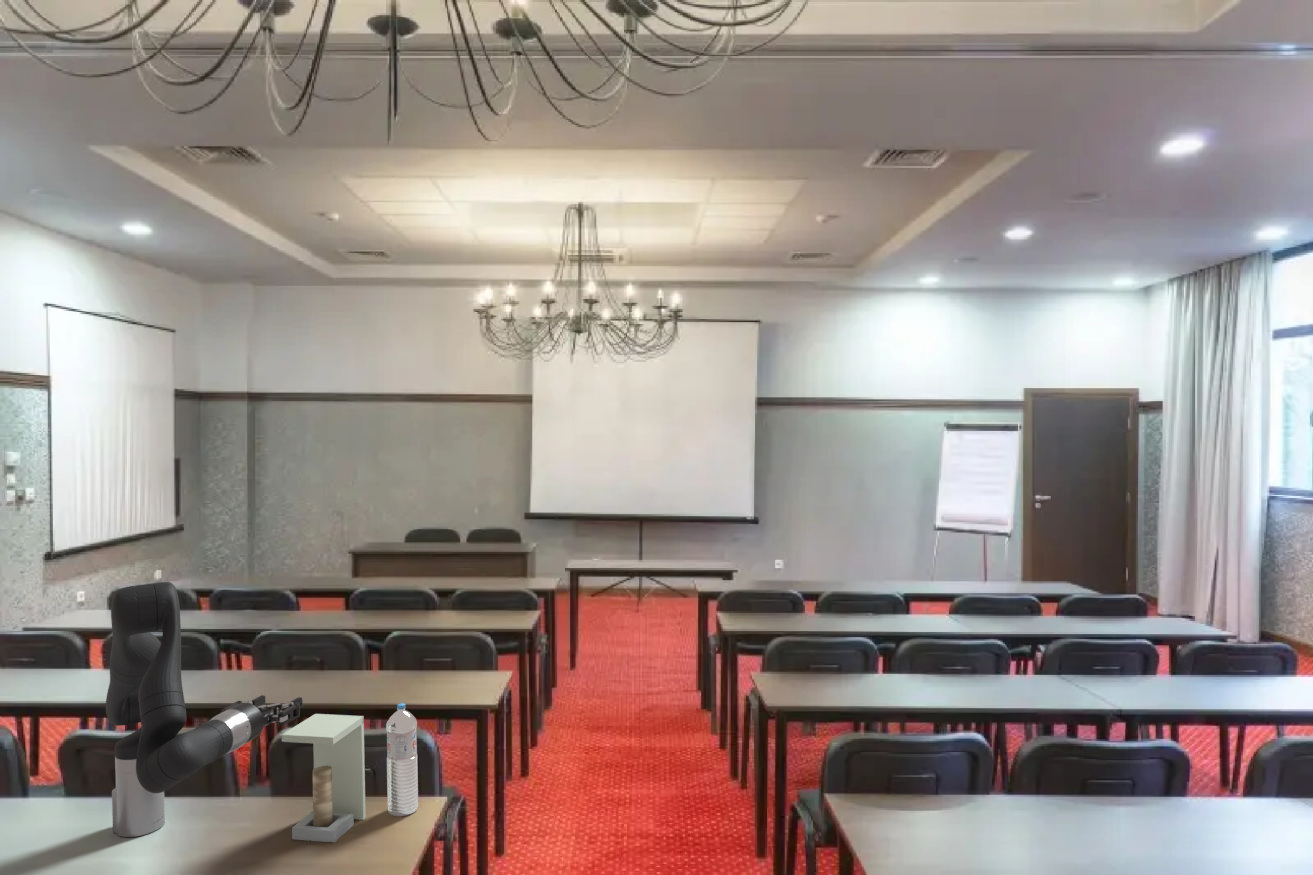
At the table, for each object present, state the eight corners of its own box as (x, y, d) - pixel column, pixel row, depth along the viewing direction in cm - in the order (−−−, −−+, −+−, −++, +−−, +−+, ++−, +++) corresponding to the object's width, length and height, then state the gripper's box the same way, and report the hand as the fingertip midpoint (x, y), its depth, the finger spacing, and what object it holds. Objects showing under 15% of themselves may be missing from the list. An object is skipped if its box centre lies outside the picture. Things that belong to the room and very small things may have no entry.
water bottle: (409, 818, 193) (407, 710, 192) (382, 816, 194) (380, 708, 194) (423, 805, 200) (421, 700, 199) (396, 802, 201) (395, 698, 200)
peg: (309, 835, 185) (308, 772, 185) (319, 827, 189) (318, 765, 189) (326, 837, 185) (325, 773, 184) (336, 828, 189) (335, 766, 188)
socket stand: (283, 842, 183) (281, 734, 182) (317, 814, 195) (315, 713, 195) (335, 846, 181) (333, 737, 180) (365, 817, 194) (363, 716, 193)
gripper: (265, 711, 162) (312, 684, 178) (198, 708, 164) (251, 681, 180) (266, 750, 162) (313, 720, 178) (199, 746, 164) (252, 716, 180)
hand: (282, 700), depth 179 cm, fingers open, 8 cm apart
